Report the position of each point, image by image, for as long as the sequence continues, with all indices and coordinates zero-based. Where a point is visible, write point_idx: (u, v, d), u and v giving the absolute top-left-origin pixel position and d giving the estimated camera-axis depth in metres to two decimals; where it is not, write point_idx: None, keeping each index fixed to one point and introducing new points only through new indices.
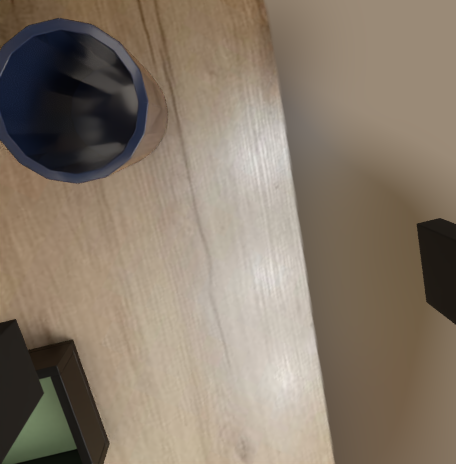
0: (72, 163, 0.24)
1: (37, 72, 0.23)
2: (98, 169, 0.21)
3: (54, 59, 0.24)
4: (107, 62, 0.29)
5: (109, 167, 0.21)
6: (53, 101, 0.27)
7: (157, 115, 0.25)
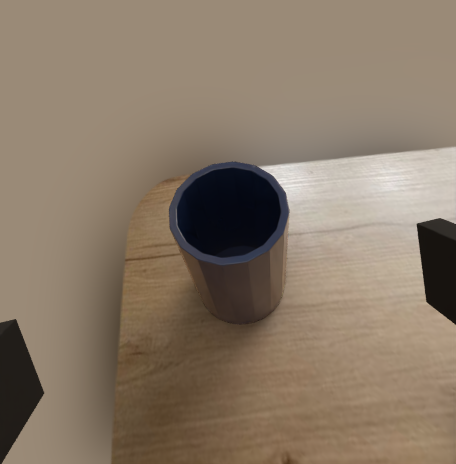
0: None
1: None
2: (279, 197, 0.27)
3: None
4: None
5: (278, 189, 0.27)
6: None
7: None
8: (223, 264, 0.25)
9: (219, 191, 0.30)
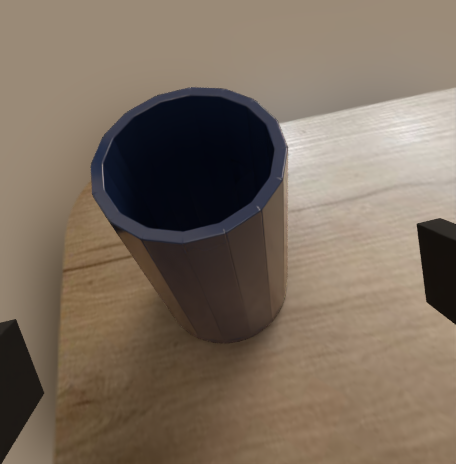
0: None
1: None
2: (268, 128, 0.16)
3: None
4: None
5: (265, 117, 0.17)
6: None
7: None
8: (185, 241, 0.14)
9: (176, 144, 0.20)
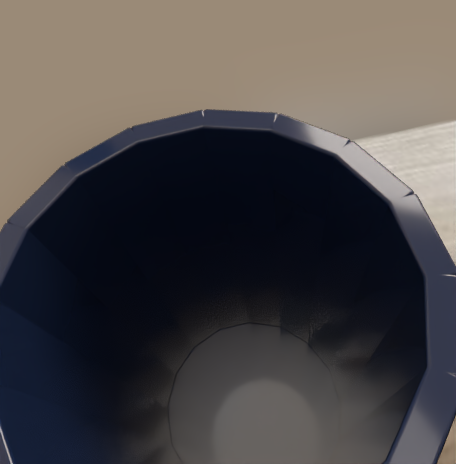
0: (375, 411, 0.09)
1: None
2: (396, 215, 0.07)
3: (110, 443, 0.09)
4: (155, 399, 0.15)
5: (384, 185, 0.07)
6: None
7: None
8: None
9: (175, 214, 0.10)
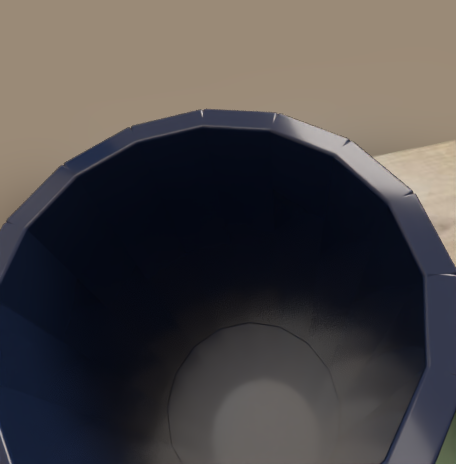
0: (374, 410, 0.09)
1: None
2: (395, 214, 0.07)
3: (109, 443, 0.09)
4: (155, 399, 0.15)
5: (383, 185, 0.07)
6: None
7: None
8: None
9: (174, 214, 0.10)
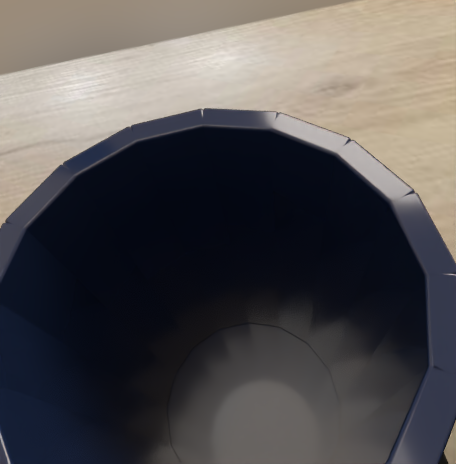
0: (375, 411, 0.09)
1: None
2: (397, 214, 0.07)
3: (109, 444, 0.09)
4: (155, 399, 0.15)
5: (385, 184, 0.07)
6: None
7: None
8: None
9: (174, 214, 0.10)
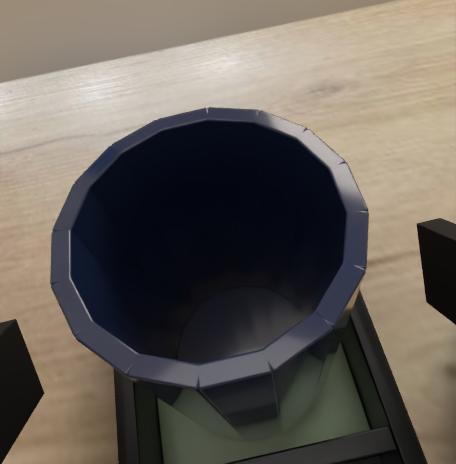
0: None
1: None
2: (333, 176, 0.10)
3: (139, 349, 0.13)
4: (167, 341, 0.19)
5: (327, 157, 0.11)
6: None
7: None
8: (202, 386, 0.08)
9: (186, 185, 0.14)
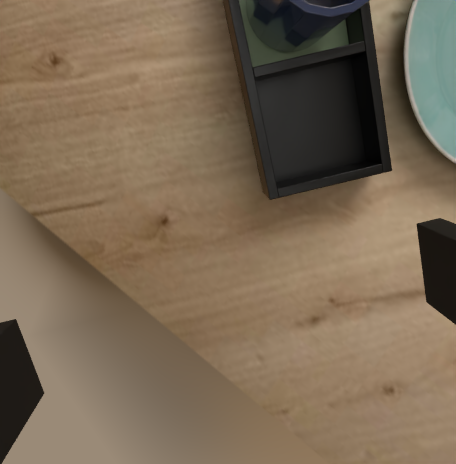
0: None
1: None
2: None
3: None
4: None
5: None
6: None
7: None
8: (331, 15, 0.25)
9: None
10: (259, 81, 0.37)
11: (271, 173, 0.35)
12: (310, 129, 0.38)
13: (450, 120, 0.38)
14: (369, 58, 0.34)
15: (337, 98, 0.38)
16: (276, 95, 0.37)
